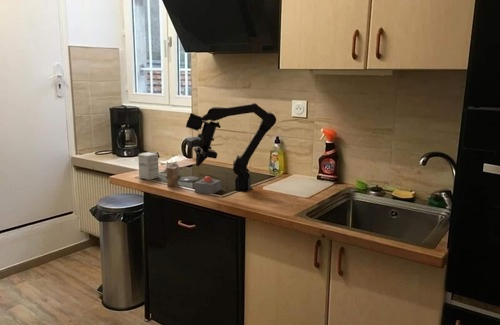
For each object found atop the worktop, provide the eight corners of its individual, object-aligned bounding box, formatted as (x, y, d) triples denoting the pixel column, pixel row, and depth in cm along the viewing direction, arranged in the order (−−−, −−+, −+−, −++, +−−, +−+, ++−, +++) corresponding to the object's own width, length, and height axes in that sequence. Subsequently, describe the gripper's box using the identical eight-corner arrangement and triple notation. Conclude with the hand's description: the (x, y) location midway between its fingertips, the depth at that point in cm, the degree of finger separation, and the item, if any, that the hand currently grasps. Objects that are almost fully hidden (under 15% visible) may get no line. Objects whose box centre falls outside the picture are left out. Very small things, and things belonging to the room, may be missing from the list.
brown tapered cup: (178, 184, 202) (177, 166, 200) (175, 186, 198) (174, 168, 196) (170, 184, 203) (169, 166, 201) (167, 186, 199) (166, 168, 197)
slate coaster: (202, 178, 214) (202, 177, 214) (192, 182, 205) (192, 182, 205) (185, 176, 218) (185, 175, 218) (175, 180, 209) (175, 180, 209)
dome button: (214, 189, 193) (214, 175, 191) (209, 191, 189) (209, 177, 187) (206, 188, 194) (205, 174, 193) (201, 190, 190) (201, 176, 189)
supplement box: (138, 177, 215) (137, 154, 212) (150, 175, 220) (148, 151, 218) (148, 180, 210) (147, 155, 208) (159, 177, 216) (158, 153, 213)
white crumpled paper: (175, 184, 217) (179, 171, 210) (160, 178, 217) (163, 165, 210) (181, 172, 224) (184, 160, 217) (166, 166, 223) (169, 154, 216)
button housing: (221, 189, 194) (221, 180, 193) (211, 194, 186) (211, 184, 185) (204, 187, 197) (204, 178, 196) (194, 192, 189) (194, 182, 188)
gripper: (183, 124, 191) (174, 156, 194) (200, 136, 176) (190, 170, 179) (204, 129, 197) (194, 160, 200) (222, 141, 183) (211, 174, 186)
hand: (197, 165), depth 191 cm, fingers closed
